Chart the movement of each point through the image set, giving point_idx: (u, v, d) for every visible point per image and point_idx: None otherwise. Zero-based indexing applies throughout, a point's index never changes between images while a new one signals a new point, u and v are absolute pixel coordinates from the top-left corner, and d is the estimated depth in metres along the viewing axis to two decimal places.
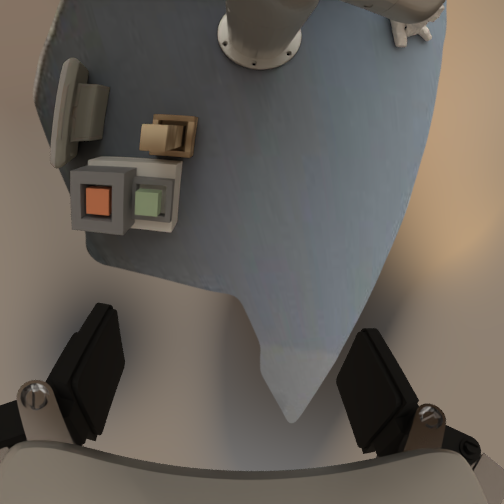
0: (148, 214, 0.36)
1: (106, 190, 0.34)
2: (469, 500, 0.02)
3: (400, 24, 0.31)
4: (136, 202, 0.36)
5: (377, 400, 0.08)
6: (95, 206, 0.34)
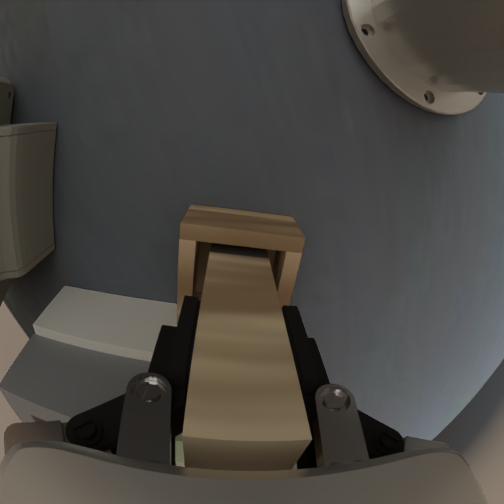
0: None
1: None
2: (469, 500, 0.02)
3: None
4: None
5: None
6: None
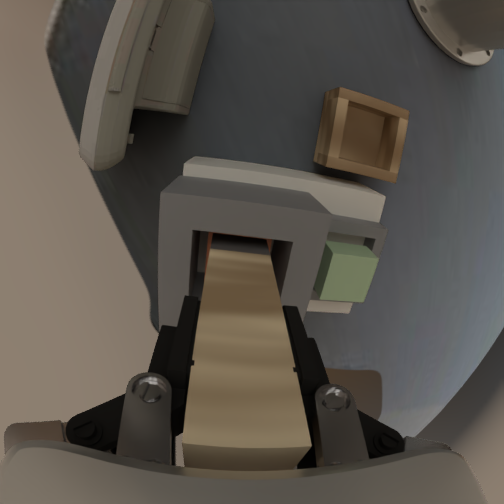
0: (348, 298, 0.18)
1: (266, 239, 0.16)
2: (469, 500, 0.02)
3: None
4: (329, 276, 0.17)
5: None
6: None
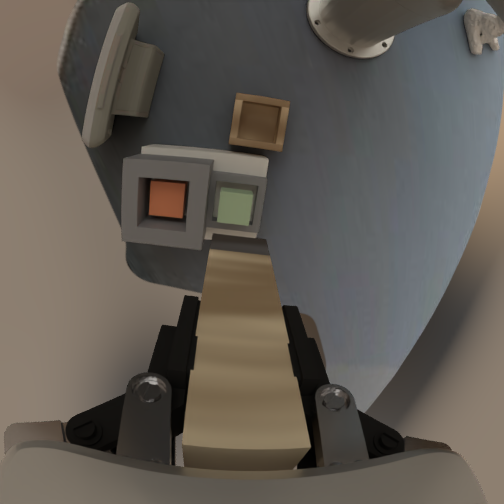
0: (236, 222, 0.29)
1: (181, 185, 0.28)
2: (469, 500, 0.02)
3: (477, 31, 0.23)
4: (220, 206, 0.28)
5: None
6: (163, 205, 0.28)
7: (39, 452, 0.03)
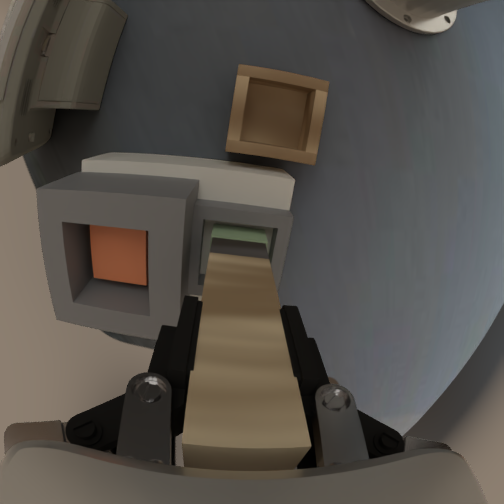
0: None
1: (140, 230, 0.15)
2: (469, 500, 0.02)
3: None
4: None
5: None
6: (113, 263, 0.16)
7: (39, 452, 0.03)
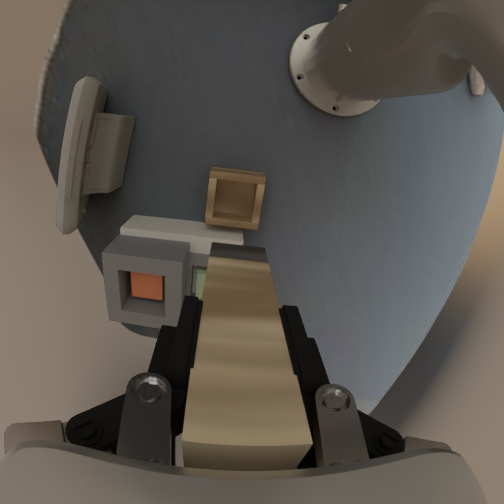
0: None
1: None
2: (469, 500, 0.02)
3: None
4: (198, 285, 0.31)
5: None
6: (144, 288, 0.30)
7: (39, 452, 0.03)
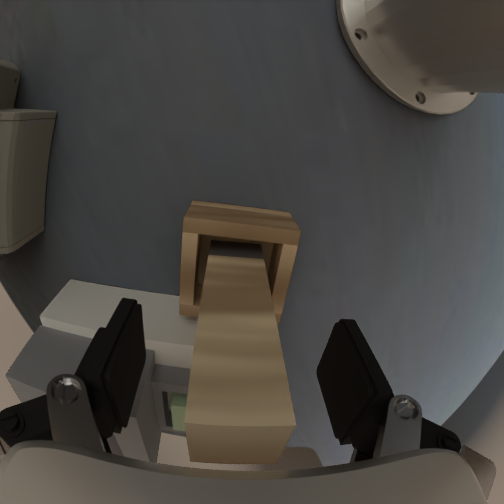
0: None
1: None
2: (469, 500, 0.02)
3: None
4: (175, 417, 0.16)
5: (352, 390, 0.08)
6: None
7: (39, 452, 0.03)
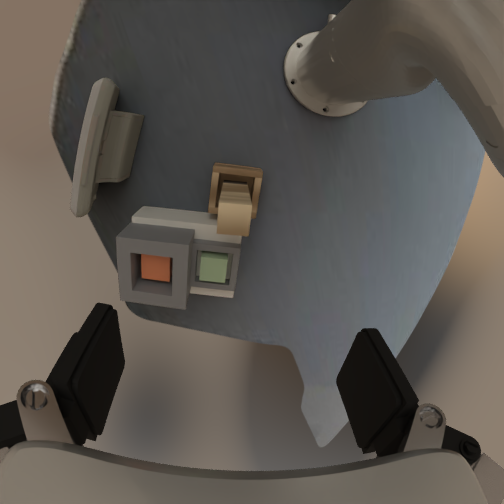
0: (215, 280, 0.35)
1: None
2: (469, 500, 0.02)
3: None
4: (201, 268, 0.35)
5: (377, 400, 0.08)
6: (153, 271, 0.33)
7: (39, 452, 0.03)
